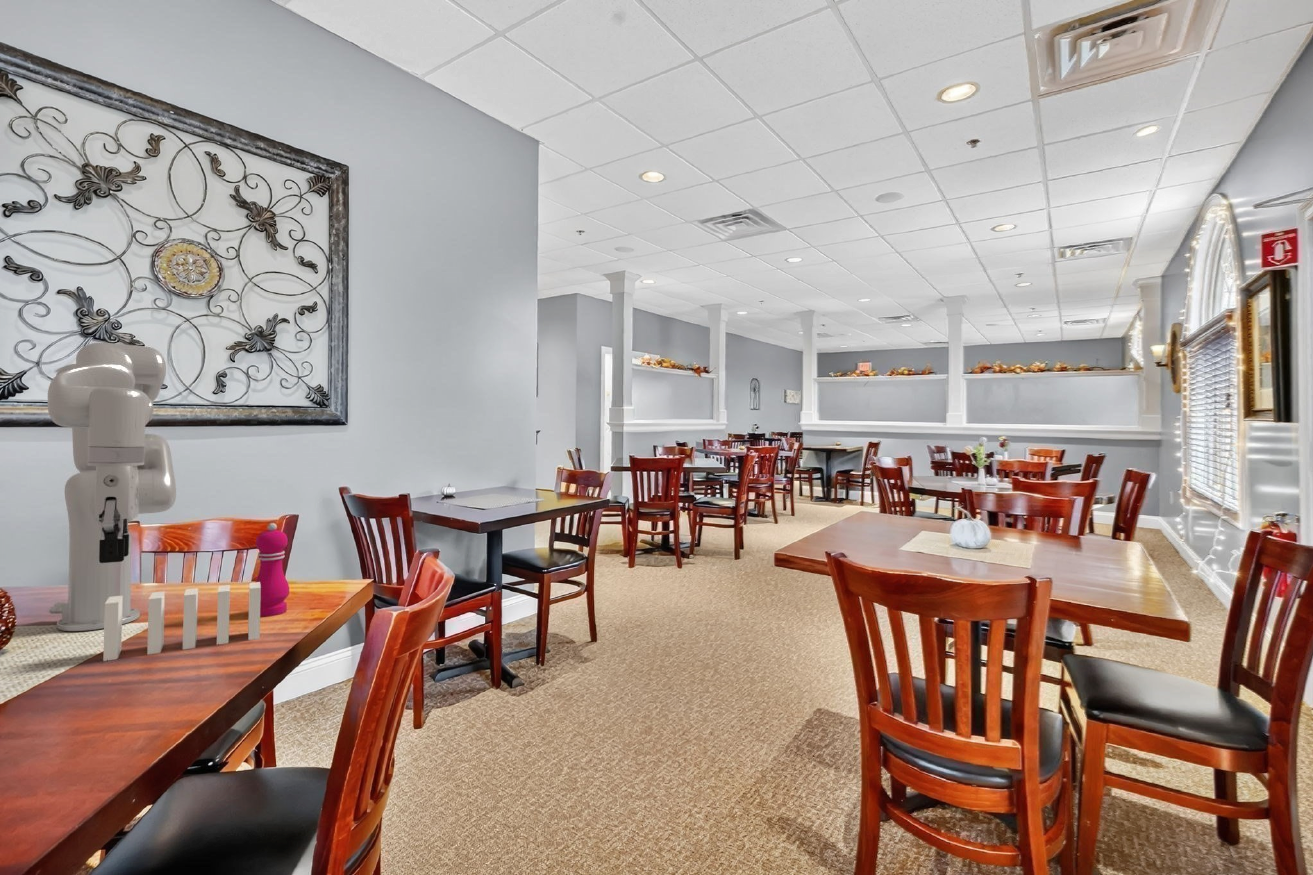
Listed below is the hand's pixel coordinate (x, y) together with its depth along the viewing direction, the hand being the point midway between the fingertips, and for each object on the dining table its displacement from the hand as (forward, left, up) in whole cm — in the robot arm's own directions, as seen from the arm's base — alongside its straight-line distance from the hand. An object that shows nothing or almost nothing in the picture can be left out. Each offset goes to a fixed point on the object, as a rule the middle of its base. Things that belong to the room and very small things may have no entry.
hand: (114, 558), depth 107 cm
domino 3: (+14, +8, -17) cm, 24 cm away
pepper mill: (+13, +26, -18) cm, 34 cm away
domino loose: (0, 0, -17) cm, 17 cm away
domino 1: (+5, +3, -17) cm, 18 cm away
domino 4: (+18, +10, -17) cm, 27 cm away
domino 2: (+10, +5, -17) cm, 21 cm away
